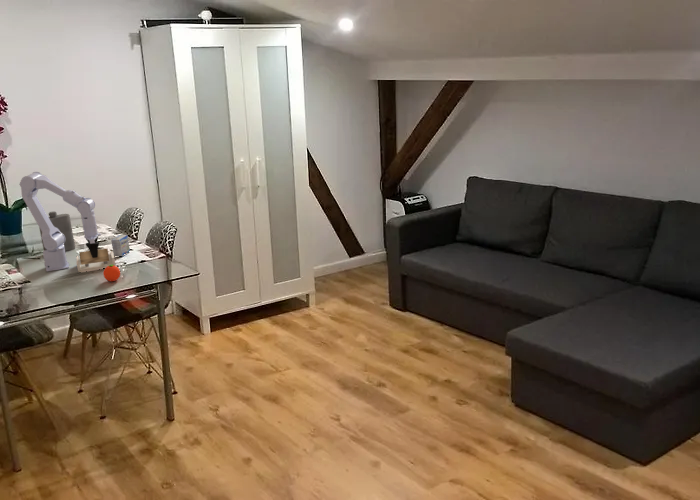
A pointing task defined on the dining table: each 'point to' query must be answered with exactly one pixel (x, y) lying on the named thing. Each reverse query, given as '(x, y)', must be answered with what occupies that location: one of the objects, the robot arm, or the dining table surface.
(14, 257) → the dining table surface
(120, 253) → the medicine box
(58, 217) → the flask
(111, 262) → the peg frame
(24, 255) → the dining table surface
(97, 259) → the wooden block
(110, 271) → the clementine
